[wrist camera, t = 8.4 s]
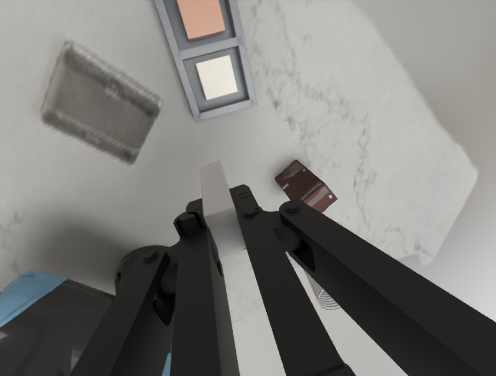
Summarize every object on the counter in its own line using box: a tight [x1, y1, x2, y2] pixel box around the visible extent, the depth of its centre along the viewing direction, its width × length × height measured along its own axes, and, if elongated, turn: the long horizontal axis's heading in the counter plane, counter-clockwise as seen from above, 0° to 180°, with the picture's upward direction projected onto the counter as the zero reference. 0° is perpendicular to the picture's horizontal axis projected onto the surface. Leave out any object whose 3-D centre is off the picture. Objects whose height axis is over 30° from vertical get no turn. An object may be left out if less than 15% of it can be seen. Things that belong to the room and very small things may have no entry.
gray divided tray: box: [154, 0, 257, 122], centre depth 30 cm, size 10×25×4 cm, turn 13°
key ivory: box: [196, 55, 238, 100], centre depth 33 cm, size 5×5×2 cm
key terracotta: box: [177, 0, 225, 42], centre depth 28 cm, size 5×5×2 cm
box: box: [275, 160, 337, 213], centre depth 41 cm, size 6×4×12 cm
